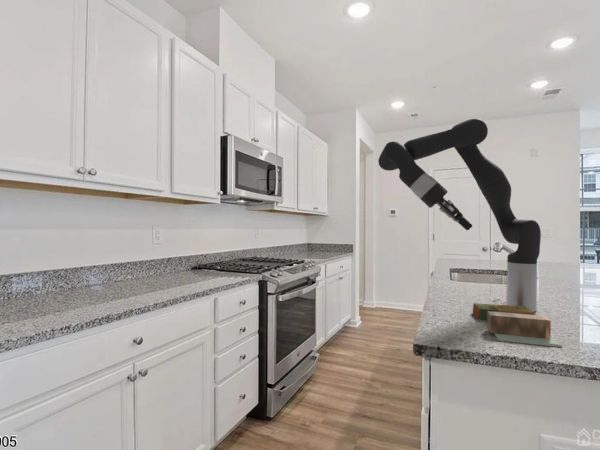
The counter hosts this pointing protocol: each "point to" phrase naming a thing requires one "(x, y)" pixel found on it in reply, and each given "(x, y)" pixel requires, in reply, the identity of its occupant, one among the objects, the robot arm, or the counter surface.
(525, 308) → the carton
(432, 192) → the robot arm
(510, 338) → the mat
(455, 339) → the counter surface
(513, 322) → the copper block
